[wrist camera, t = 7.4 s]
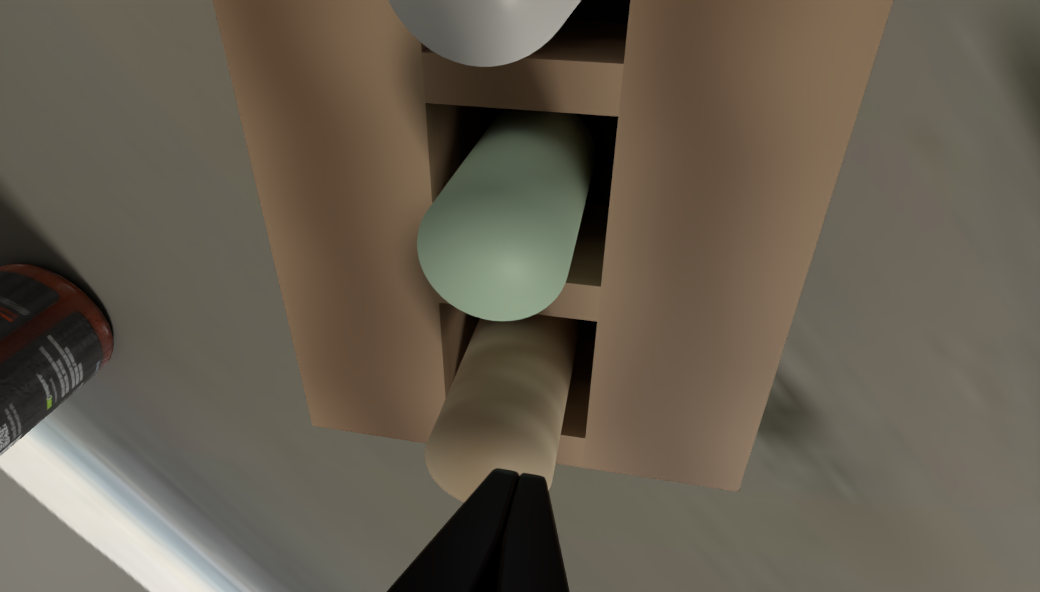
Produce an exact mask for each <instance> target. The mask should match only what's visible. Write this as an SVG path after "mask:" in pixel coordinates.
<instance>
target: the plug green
mask: <svg viewBox="0 0 1040 592" xmlns="http://www.w3.org/2000/svg"><path fill="white" fill-rule="evenodd" d="M594 163H595V149H594V144H593V140H592V137H591V134H590V132H589V130H588V128H587V127H586V125H585V124H584V122H583V121H582V120H581V119H580V118H579V117H578V116H577V115H576V114H575V113H561V112H547V111H533V110H518V109H505V110H503V111H502V112H501V113H500V114H499V115H498V116H497V117H496V118H495V120H494V121H493V122H492V124H491V125H490V126H489V128H488V129H487V130H486V132H485V133H484V134H483V136H482V137H481V138H480V140H479V141H478V143H477V144H476V145H475V147H474V148H473V149H472V151H471V152H470V153H469V155H468V156H467V157H466V159H465V160H464V161H463V163H462V164H461V166H460V167H459V168H458V170H457V171H456V172H455V174H454V175H453V176H452V178H451V179H450V180H449V182H448V183H447V184H446V186H445V187H444V189H443V190H442V191H441V193H440V194H439V195H438V197H437V198H436V199H435V201H434V202H433V203H432V205H431V206H430V207H429V209H428V210H427V212H426V213H425V215H424V217H423V219H422V221H421V223H420V227H419V230H418V237H417V251H418V257H419V261H420V264H421V267H422V270H423V272H424V274H425V276H426V278H427V279H428V281H429V283H430V284H431V285H432V287H433V288H434V289H435V290H436V291H437V292H438V293H439V295H440V296H441V297H442V298H444V299H445V300H446V301H447V302H448V303H450V304H451V305H453V306H454V307H456V308H457V309H459V310H461V311H463V312H465V313H467V314H470V315H472V316H475V317H478V318H482V319H486V320H492V321H514V320H520V319H523V318H527V317H530V316H532V315H535V314H537V313H539V312H540V311H542V310H544V309H545V308H546V307H548V306H549V305H550V304H551V303H552V302H553V301H554V300H555V299H556V298H557V297H558V295H559V294H560V292H561V291H562V289H563V287H564V285H565V283H566V280H567V277H568V273H569V269H570V265H571V261H572V257H573V252H574V248H575V244H576V240H577V236H578V231H579V227H580V223H581V219H582V215H583V210H584V206H585V202H586V198H587V194H588V189H589V185H590V181H591V177H592V173H593V168H594Z"/></svg>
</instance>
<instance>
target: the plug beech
mask: <svg viewBox="0 0 1040 592" xmlns="http://www.w3.org/2000/svg"><path fill="white" fill-rule="evenodd" d="M578 335H579V324H578V320H577V319H572V318H563V317H555V316H547V315H538V314H535V315H532V316H530V317H527V318H523V319H520V320H514V321H492V320H486V319H482V318H480V319H479V321H478V324H477V326H476V328H475V331H474V333H473V336H472V338H471V340H470V343H469V345H468V347H467V350H466V352H465V354H464V357H463V359H462V362H461V364H460V366H459V369H458V371H457V373H456V376H455V378H454V380H453V383H452V385H451V387H450V390H449V392H448V395H447V397H446V399H445V402H444V404H443V406H442V409H441V411H440V413H439V416H438V418H437V420H436V423H435V425H434V428H433V430H432V432H431V435H430V437H429V439H428V442H427V444H426V447H425V462H426V465H427V468H428V470H429V472H430V474H431V476H432V477H433V479H434V480H435V481H436V482H437V484H438V485H439V486H440V487H441V488H442V489H444V490H445V491H446V492H447V493H449V494H450V495H451V496H453V497H455V498H456V499H458V500H460V501H462V502H465V501H466V500H467V499H468V498H469V496H470V495H471V494H472V493H473V492H474V491H475V490H476V488H477V487H478V486H479V485H480V484H481V483H482V481H483V480H484V479H485V478H486V477H487V476H488V475H489V473H490V472H491V471H492V470H494V469H496V468H501V469H506V470H512V471H516V472H518V473H519V476H520V475H521V474H522V473H529V474H535V475H540V476H543V477H545V479H546V481H547V486H548V491H549V489H550V487H551V484H552V479H553V473H554V468H555V462H556V457H557V451H558V446H559V440H560V435H561V429H562V424H563V418H564V413H565V407H566V402H567V396H568V391H569V385H570V380H571V374H572V369H573V363H574V358H575V352H576V347H577V341H578Z"/></svg>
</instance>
